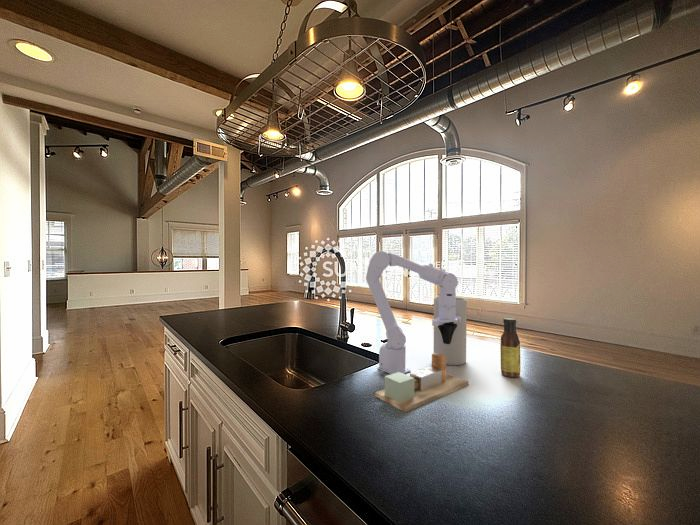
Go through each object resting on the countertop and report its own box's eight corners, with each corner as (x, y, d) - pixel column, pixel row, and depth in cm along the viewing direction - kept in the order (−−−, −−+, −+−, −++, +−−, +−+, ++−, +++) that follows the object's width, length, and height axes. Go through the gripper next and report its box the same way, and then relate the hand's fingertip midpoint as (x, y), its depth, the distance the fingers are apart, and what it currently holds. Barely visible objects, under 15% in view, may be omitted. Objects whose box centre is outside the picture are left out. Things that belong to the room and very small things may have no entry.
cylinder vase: (427, 357, 128) (428, 297, 128) (453, 354, 131) (453, 296, 131) (445, 367, 116) (446, 301, 116) (473, 364, 120) (473, 300, 119)
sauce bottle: (524, 378, 105) (524, 320, 105) (505, 378, 105) (506, 320, 105) (514, 371, 112) (514, 317, 112) (496, 371, 112) (497, 317, 112)
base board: (374, 396, 91) (375, 392, 91) (437, 373, 109) (437, 370, 109) (405, 412, 81) (405, 407, 81) (468, 384, 100) (468, 381, 100)
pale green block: (384, 394, 89) (384, 376, 89) (398, 389, 93) (399, 371, 93) (399, 402, 84) (399, 382, 84) (414, 396, 88) (414, 377, 88)
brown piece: (394, 392, 90) (394, 364, 90) (435, 377, 102) (435, 353, 102) (404, 396, 87) (404, 368, 87) (445, 380, 99) (446, 356, 99)
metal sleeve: (409, 387, 94) (409, 373, 94) (430, 379, 101) (430, 366, 101) (421, 392, 91) (421, 377, 91) (441, 384, 97) (441, 370, 97)
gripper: (444, 309, 103) (444, 349, 103) (468, 305, 112) (468, 342, 112) (427, 306, 109) (427, 344, 109) (451, 303, 117) (451, 338, 118)
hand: (446, 343), depth 111 cm, fingers closed
